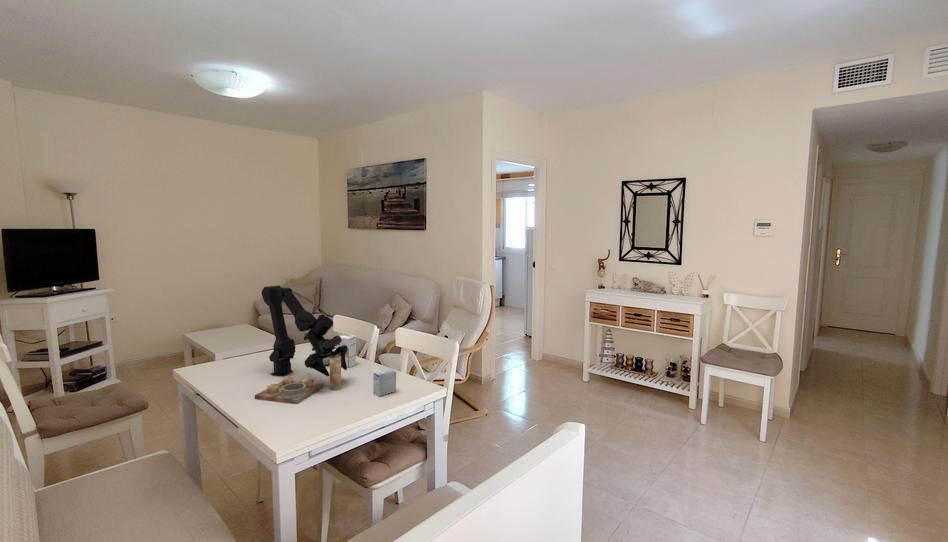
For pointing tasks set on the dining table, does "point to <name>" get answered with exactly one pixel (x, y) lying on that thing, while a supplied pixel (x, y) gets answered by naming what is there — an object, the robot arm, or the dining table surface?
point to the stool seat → (290, 390)
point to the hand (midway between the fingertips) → (337, 372)
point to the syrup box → (351, 353)
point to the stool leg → (335, 372)
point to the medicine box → (384, 382)
